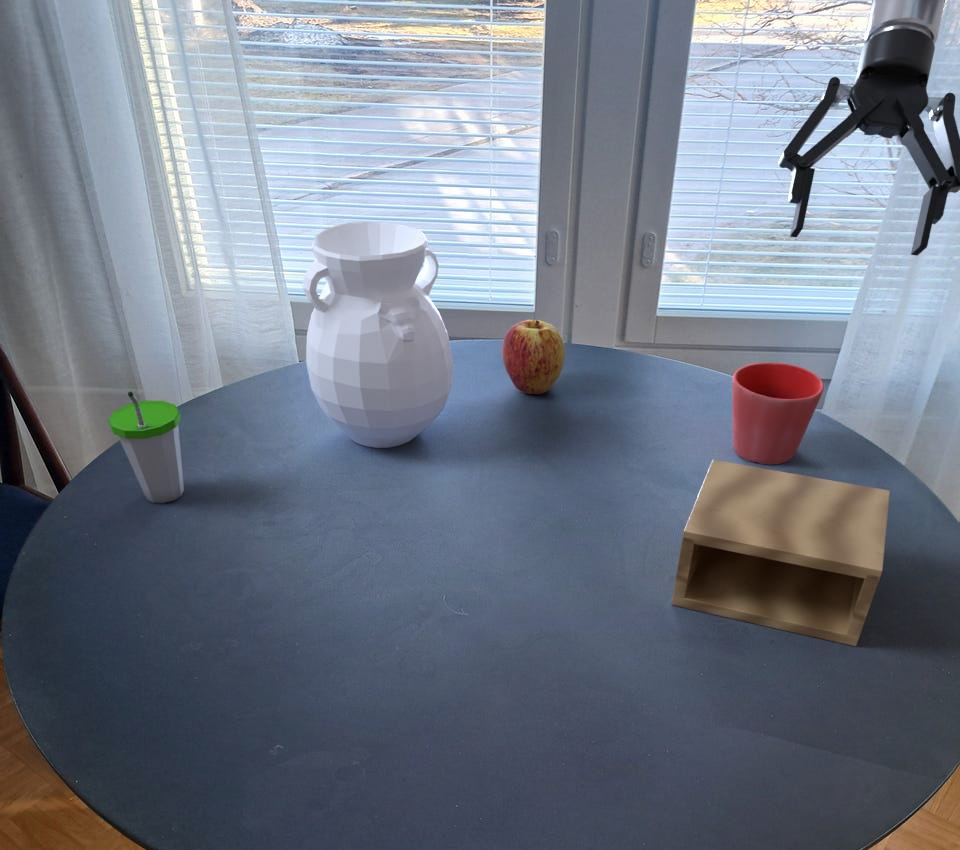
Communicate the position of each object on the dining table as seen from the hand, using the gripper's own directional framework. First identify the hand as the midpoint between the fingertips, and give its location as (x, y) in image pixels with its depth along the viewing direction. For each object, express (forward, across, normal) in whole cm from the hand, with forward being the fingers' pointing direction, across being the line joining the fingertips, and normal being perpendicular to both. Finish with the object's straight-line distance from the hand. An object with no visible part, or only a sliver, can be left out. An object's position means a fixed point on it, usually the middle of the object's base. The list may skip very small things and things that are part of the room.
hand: (857, 242), depth 101 cm
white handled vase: (+28, +52, -14) cm, 61 cm away
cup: (+42, +75, +1) cm, 85 cm away
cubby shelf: (+40, +4, +10) cm, 41 cm away
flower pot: (+22, +3, -14) cm, 26 cm away
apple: (+17, +35, -26) cm, 47 cm away
